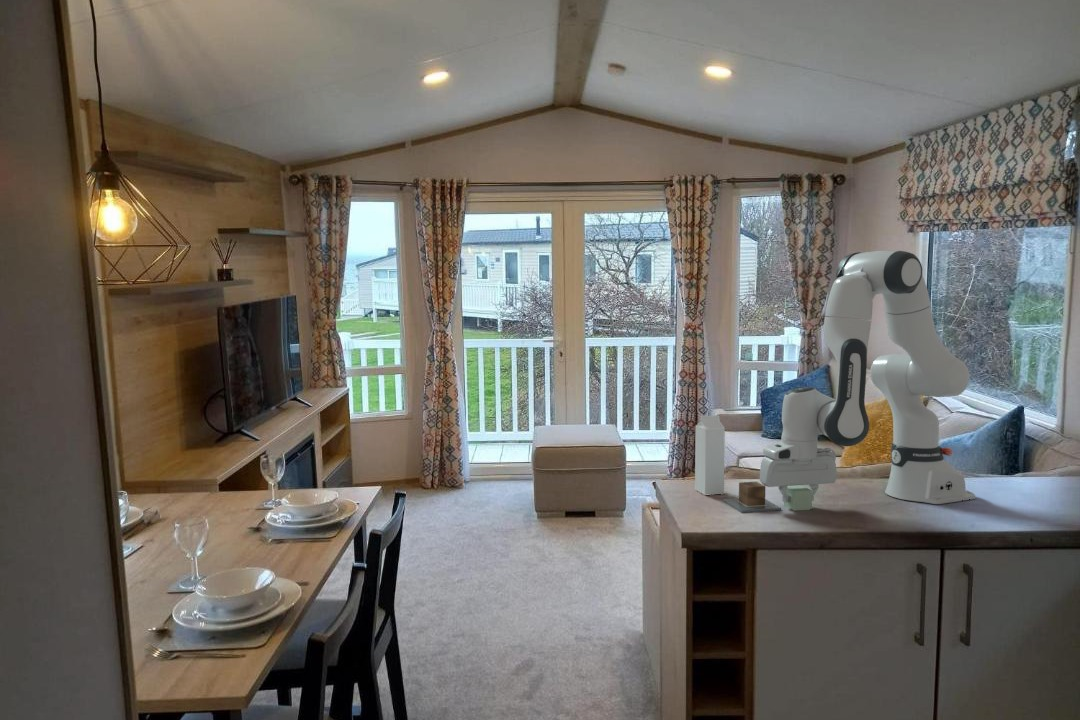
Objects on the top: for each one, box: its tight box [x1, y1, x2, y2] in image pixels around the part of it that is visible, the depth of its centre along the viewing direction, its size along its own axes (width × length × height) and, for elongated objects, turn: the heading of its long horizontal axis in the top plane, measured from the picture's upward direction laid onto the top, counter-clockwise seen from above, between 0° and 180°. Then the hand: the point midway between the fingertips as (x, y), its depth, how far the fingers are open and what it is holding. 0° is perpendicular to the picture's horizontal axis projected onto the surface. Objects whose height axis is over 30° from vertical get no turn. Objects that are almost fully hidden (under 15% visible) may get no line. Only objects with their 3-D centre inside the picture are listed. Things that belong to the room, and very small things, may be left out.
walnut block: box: [738, 481, 766, 506], centre depth 191 cm, size 5×5×5 cm
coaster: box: [722, 497, 782, 514], centre depth 191 cm, size 11×11×1 cm
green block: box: [783, 485, 813, 512], centre depth 189 cm, size 5×5×5 cm
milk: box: [694, 414, 726, 495], centre depth 204 cm, size 6×6×22 cm
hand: (798, 501), depth 189 cm, fingers closed on green block, 5 cm apart
